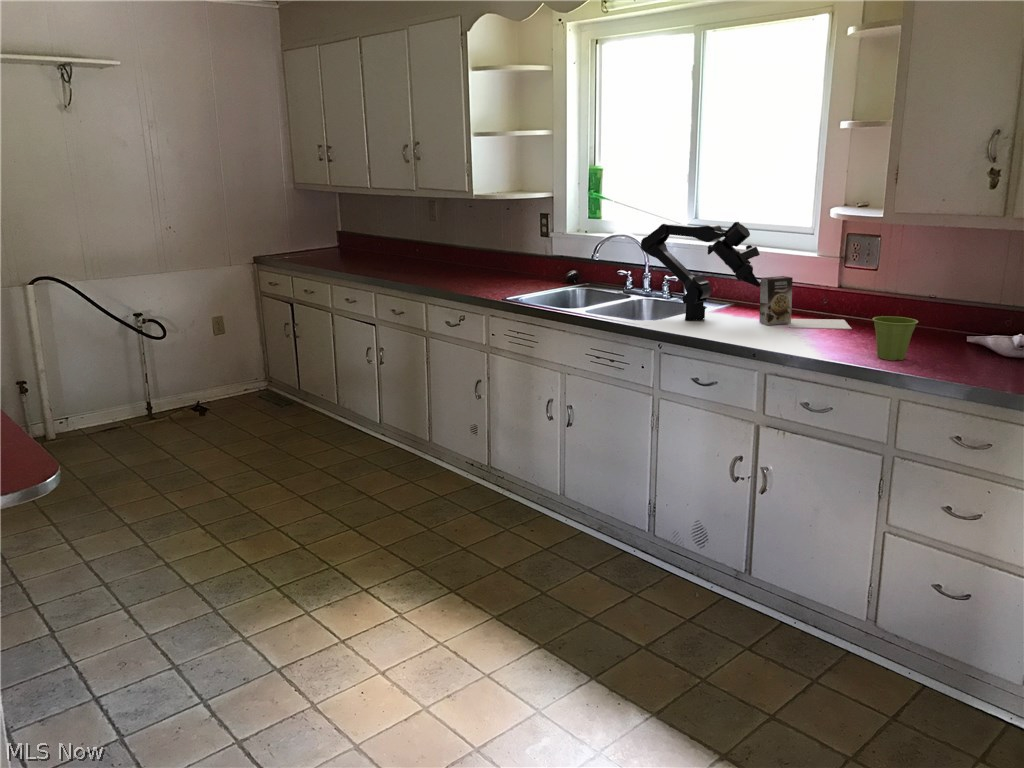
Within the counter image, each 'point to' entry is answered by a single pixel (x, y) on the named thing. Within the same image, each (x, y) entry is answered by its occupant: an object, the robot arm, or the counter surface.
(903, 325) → the plant pot
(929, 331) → the counter surface
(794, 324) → the mat
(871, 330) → the counter surface
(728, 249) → the robot arm
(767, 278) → the cookie box
